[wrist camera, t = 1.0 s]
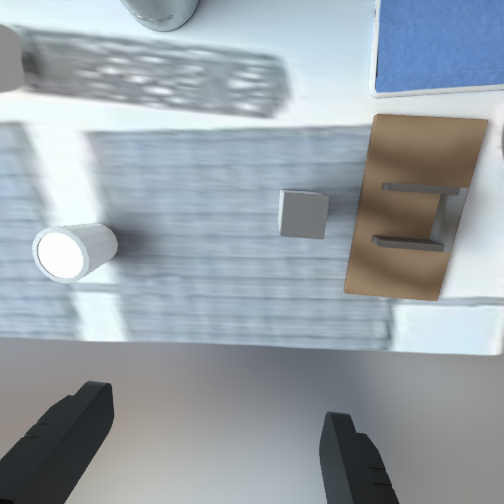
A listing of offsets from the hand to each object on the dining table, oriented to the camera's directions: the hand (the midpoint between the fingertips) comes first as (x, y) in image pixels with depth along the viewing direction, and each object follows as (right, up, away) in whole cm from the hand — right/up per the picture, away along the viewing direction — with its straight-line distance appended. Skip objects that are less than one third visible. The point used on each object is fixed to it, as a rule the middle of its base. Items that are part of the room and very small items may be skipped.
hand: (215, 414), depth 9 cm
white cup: (-20, +7, +27) cm, 35 cm away
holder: (+21, +11, +23) cm, 33 cm away
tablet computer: (+24, +30, +18) cm, 43 cm away
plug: (+7, +12, +24) cm, 27 cm away
